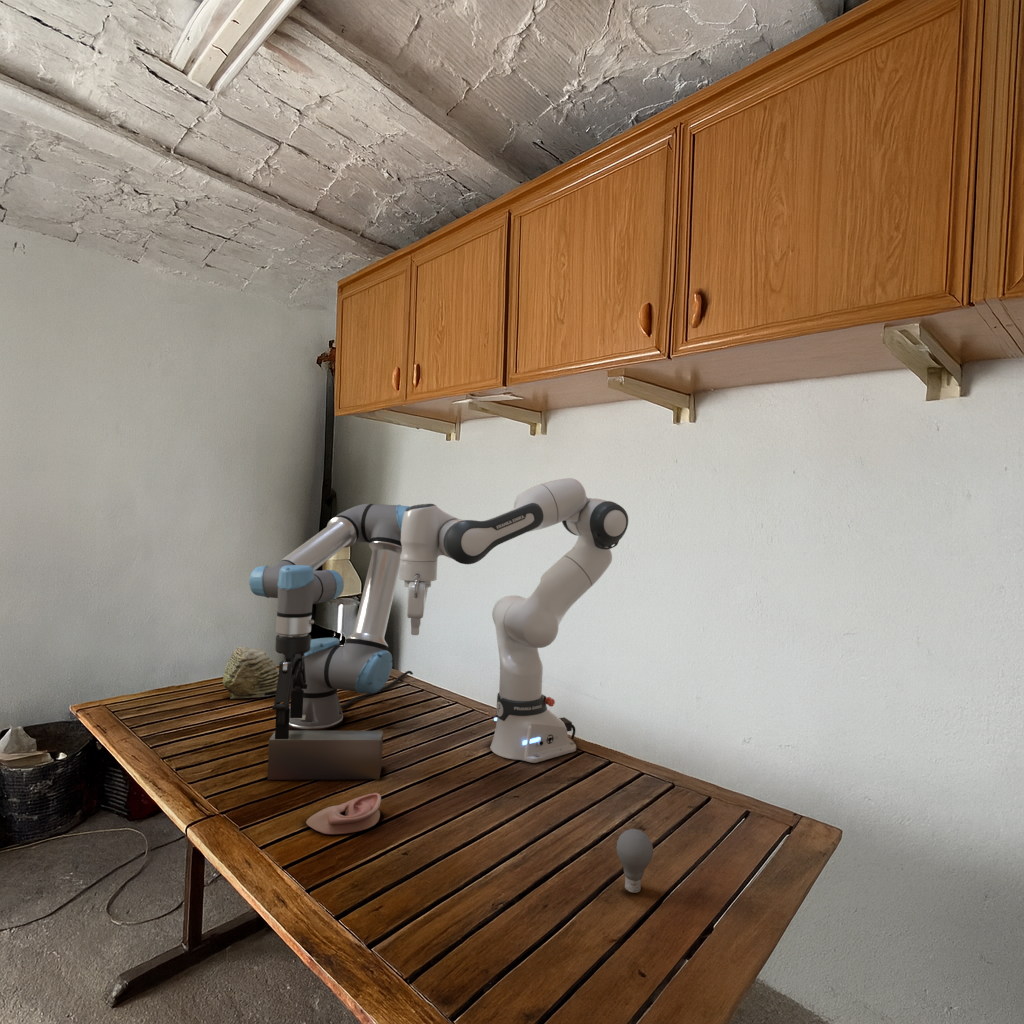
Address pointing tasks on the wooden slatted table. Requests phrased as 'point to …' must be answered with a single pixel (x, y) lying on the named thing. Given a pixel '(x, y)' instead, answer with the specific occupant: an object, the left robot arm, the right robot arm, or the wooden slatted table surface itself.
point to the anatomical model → (347, 816)
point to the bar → (326, 755)
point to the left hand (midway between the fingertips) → (289, 727)
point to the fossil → (250, 674)
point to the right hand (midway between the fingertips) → (415, 630)
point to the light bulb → (634, 857)
